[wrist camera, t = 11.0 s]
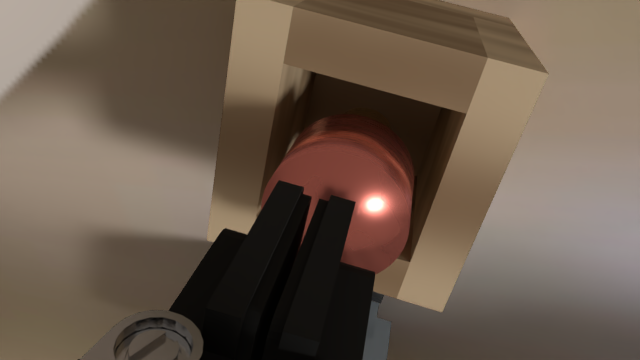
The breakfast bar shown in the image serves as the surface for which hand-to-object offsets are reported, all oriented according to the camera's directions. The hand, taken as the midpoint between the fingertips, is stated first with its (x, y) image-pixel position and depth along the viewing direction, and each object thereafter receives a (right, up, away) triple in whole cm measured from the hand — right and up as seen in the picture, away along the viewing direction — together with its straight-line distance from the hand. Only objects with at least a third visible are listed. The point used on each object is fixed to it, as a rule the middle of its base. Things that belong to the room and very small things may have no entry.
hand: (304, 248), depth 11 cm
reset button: (+2, +3, +6) cm, 7 cm away
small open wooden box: (+3, +5, +11) cm, 12 cm away
